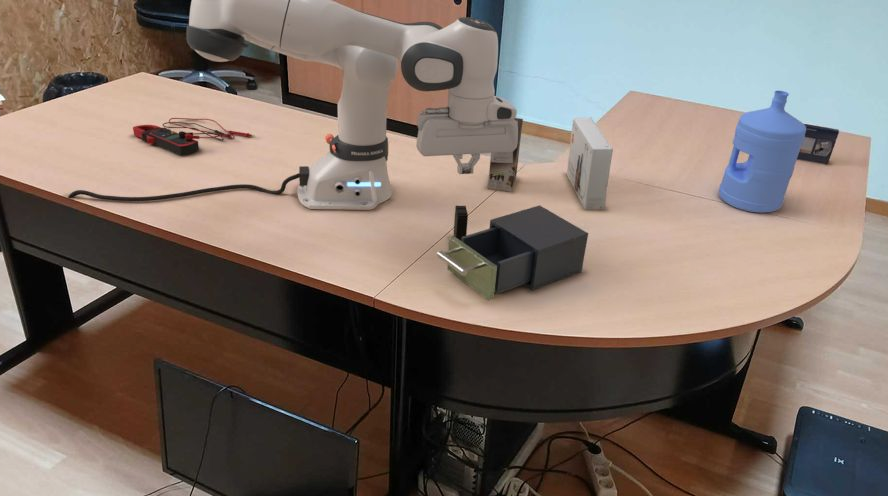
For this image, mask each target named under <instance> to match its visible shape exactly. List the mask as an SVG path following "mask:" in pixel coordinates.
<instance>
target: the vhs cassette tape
mask: <svg viewBox="0 0 888 496" xmlns="http://www.w3.org/2000/svg"><path fill="white" fill-rule="evenodd" d="M803 124H804V125H805V126H806V133H805V137H804V141H803V144H802V146H801V148H800V151H799V154H798V157H797V160H800V161H805V162H811V163H817V164H822V165H828V164H829V162H830V160H831V156H832V155H833V151H834V148H835V145H836V144H837V143H836V142H837V140H838V137H839V133H840V130H839V129H838V128H832V127H828V126H827V127H826V126H819V125H814V124H808V123H803Z"/></svg>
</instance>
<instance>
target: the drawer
mask: <svg viewBox="0 0 888 496" xmlns="http://www.w3.org/2000/svg"><path fill="white" fill-rule="evenodd" d="M436 257H437V258H438V259H440V260H441V261H442V262H444V263H445V264H446V265H447V271H449V272H450V273H452V274H453V275H454V276H455V277H457V278H458V279H459V280H460V281H462V282H463V283H464V284H466V285H467V286H469V287H470V288H471V289H472V290H474V291H475V292H477V293H478V294H479V295H481V296H482V297H483V298H485V300H487V301H489V302H490V301H493V300H494V299H495V294H496V295H498V294H501V293H503V292H506V291H509V290H513V289H514V288H517V287H520V286H523V285H524V284H526V283H528V282H531V279H532V272H533V265H534V257H535V252H534V251H533V250H531V249H530V248H528V247H526V246H525V245H523V244H522V243H520V242H519V241H517V240H515V239H514V238H512V237H511V236H509V235H508V234H506V233H505V232H503V231H501V230H500V229H498V228H497V227H493V228H490V229H489V228H487V229H483V230H480V231H477V232H474V233H470V234H466V236H463V237H462V239H461V241H460V240H459V239H457V238H456V237H453V236H451V237H449V238H448V250H445V251H443V250H438V251H437V252H436Z"/></svg>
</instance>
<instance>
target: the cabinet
mask: <svg viewBox="0 0 888 496" xmlns="http://www.w3.org/2000/svg"><path fill="white" fill-rule="evenodd" d="M493 227H497V228H498V229H500V230H501V231H503V232H505V233H506V234H508V235H509V236H511V237H512V238H514V239H515V240H517V241H519V242H520V243H522V244H523V245H525V246H526V247H528V248H530V249H531V250H533V251H534V252H535V257H534V265H533V272H532V279H531V282H528V283H526V284H523V285H524V286H526V287H527V288H529V289H530V290H531V291H535V290H538V289H540V288H543V287H547V286H548V285H551V284H553V283H557V282H559V281H562V280H564V279H567V278H570V277H572V276H575V275H577V274H579V273H582V272H583V266H584V261H585V254H586V250H587V244H588V238H589V232H587V231H585V230H583V229H582V228H580V227H578V226H577V225H575V224H573V223H571V222H569V221H568V220H566V219H565V218H562V217H561V216H559V215H557V214H555V213H554V212H552V211H550V210H549V209H547V208H545V207H543V206H542V205H536V206H533V207H529V208H525V209H523V210H519V211H516V212H512V213H509V214H505V215H502V216H498V217H495V218H492V219H489V228H488V229H490V228H493Z"/></svg>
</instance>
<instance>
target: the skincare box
mask: <svg viewBox="0 0 888 496" xmlns="http://www.w3.org/2000/svg"><path fill="white" fill-rule="evenodd" d="M613 151H614V148H613V146H612V145H611V144H610V142H609V141H608V140H607V137H606V136H605V135H604V133H603V132H602V130H601V129H600V128H599V127H598V125H597V123H596V122H595V121H594V118H592V117H573V118H572V125H571V133H570V141H569V150H568V159H567V166H566V167H567V168H566V176H567V178H568V180H569V181H570V184H571V186H572V187H573V190H574V191H575V194H576V195H577V197H578V199H579V202H580V203H581V205H582V207H583V209H584V210H587V211H589V210H590V211H591V210H592V211H593V210H596V211H597V210H598V211H599V210H600V211H601V210H602V211H603V210H605V207H606V198H607V190H608V186H609V179H610V171H611V164H612V158H613Z"/></svg>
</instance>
